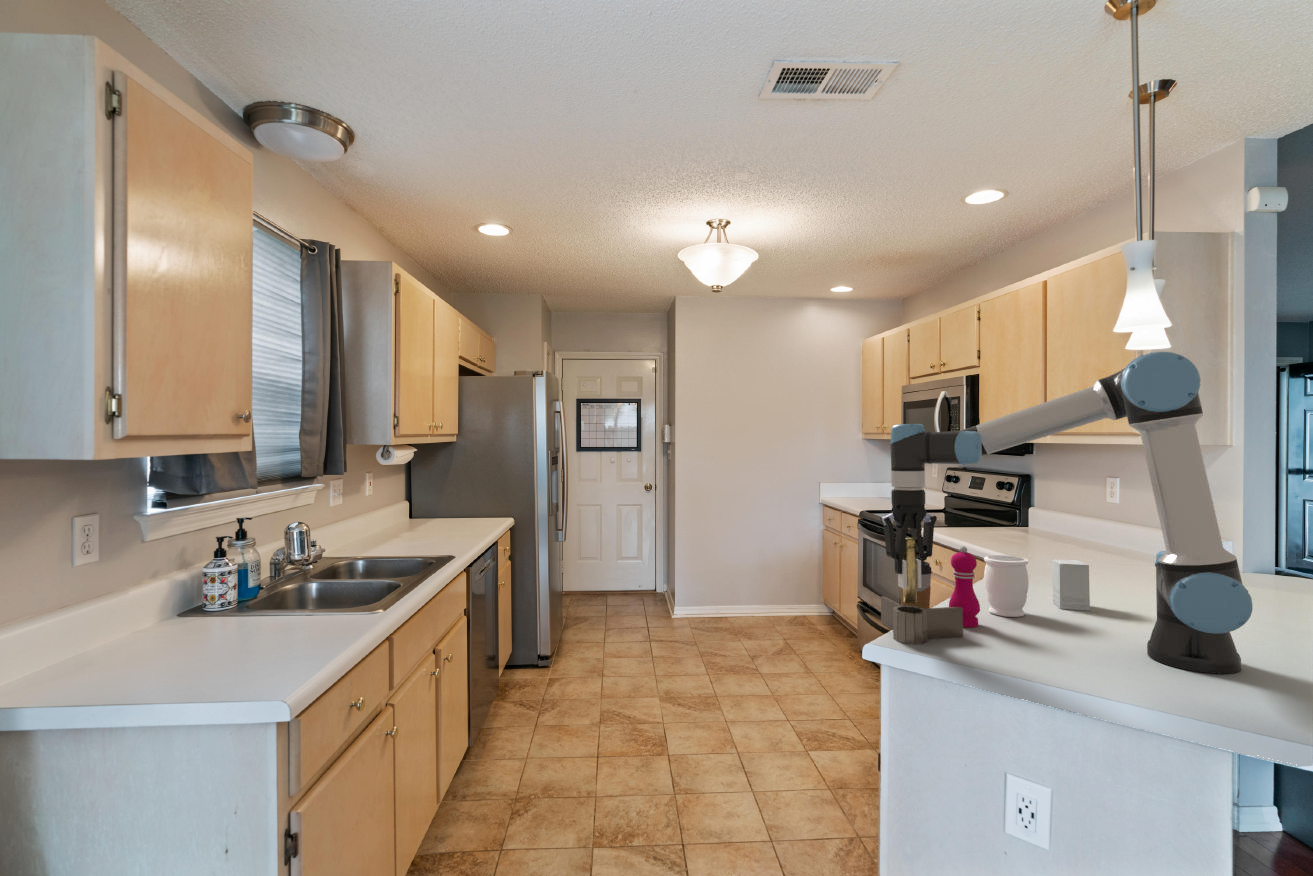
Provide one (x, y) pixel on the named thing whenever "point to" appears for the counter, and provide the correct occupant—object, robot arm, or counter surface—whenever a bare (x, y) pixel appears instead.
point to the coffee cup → (921, 589)
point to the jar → (1006, 584)
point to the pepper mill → (965, 587)
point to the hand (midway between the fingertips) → (909, 586)
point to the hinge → (921, 622)
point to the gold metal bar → (910, 571)
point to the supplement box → (1071, 584)
